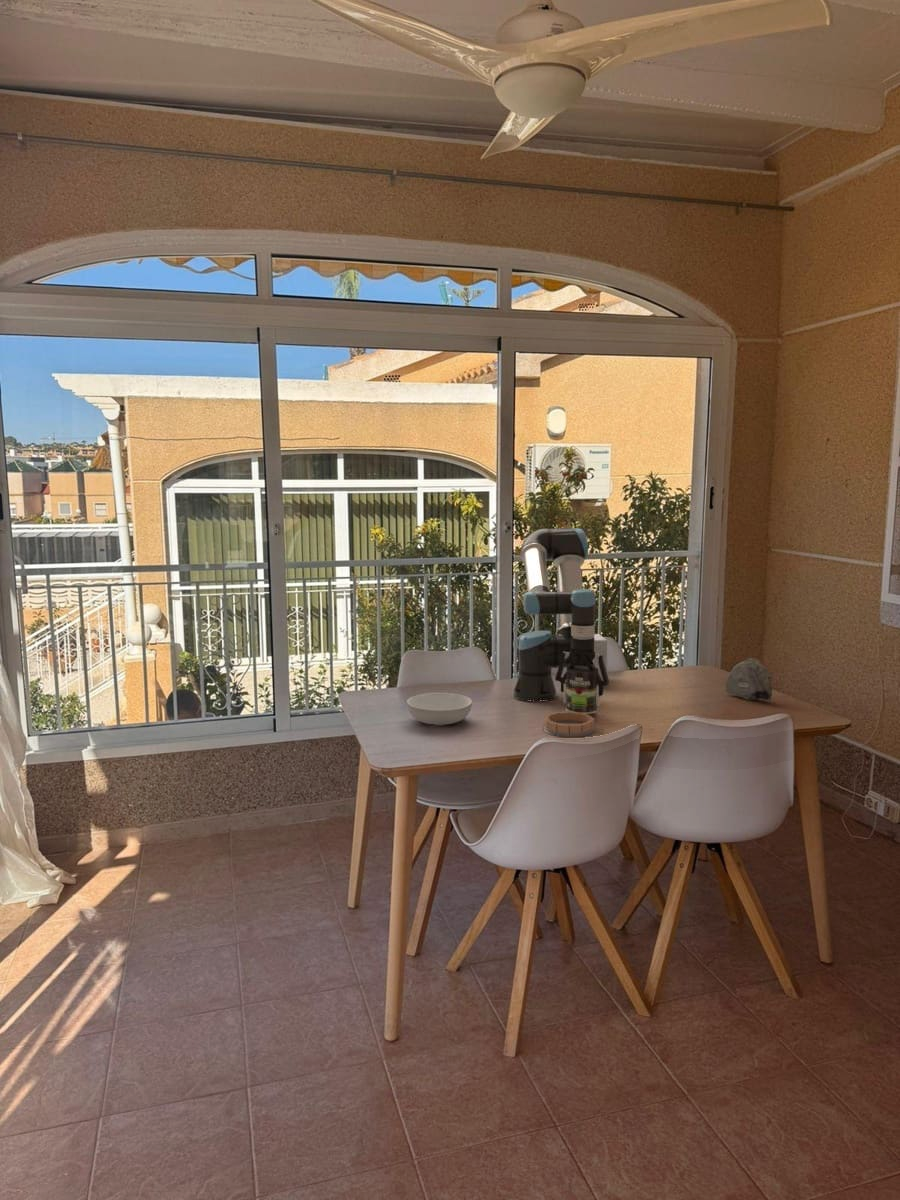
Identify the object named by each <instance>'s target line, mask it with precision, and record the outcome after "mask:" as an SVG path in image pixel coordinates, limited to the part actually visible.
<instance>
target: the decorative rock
mask: <svg viewBox="0 0 900 1200" xmlns="http://www.w3.org/2000/svg"><path fill="white" fill-rule="evenodd" d="M772 685H773V681H772V678H771V675H770V674H769V672H768V670H767V668H766V667H765V666H764V665H763V663H762V662H761V661H760V660H758V659H756V658H755V657H748V658H747V659H746V660H742V661H740V662H739V663H737V664H735V665H734V666H733V668H732V669H731V671H730V672H729V673H728V674H727V679H726V681H725V687H724V688H725V692H726V693H728V694H731V695H734V696H736V697H740V698H742V699H744V700H745V699H746V700H747V701H755V700H759V699H760V700H763V701H764V700H765V701H767V700H771V699H772V694H773V693H772V692H773V686H772Z"/></svg>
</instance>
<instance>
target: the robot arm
mask: <svg viewBox="0 0 900 1200" xmlns="http://www.w3.org/2000/svg"><path fill="white" fill-rule="evenodd" d="M588 547H589V545H588V538H587V535H586V532H585V531H584V530H583V529H582V528H574V527H568V528H567V527H566V528H565V527H564V528H547V527H546V528H539V529H536V530H534V531H533V532H531V533H530V534H529V535H528V536H527V537H525V539H524V541H523V542H522V544H521V547H520V557H521V561H522V562H523V563H524V568H525V569H524V570H525V575H526V576H525V578H526V584H527V592H524V594H523V612H524V613H525V614H526V615H537V616H539V615H559V621H560V625H559V626H560V627H559V628H558V629H557V630H556V634H553V632H552V631H551V630H534V631H528V632H524V633H523V634H521V635H520V637H519V639H518V647H517V649H518V676H517V679H516V682H515V685H514V688H513V697H514V696H515V697H517V698H519V699H523V700H531V701H530V702H532V701H533V700H534V701H540V700H542V701H540V702H544V701H543V700H549V701H551V699H552V700H555V699H556V698H557V689H556V687H555V683H554V679H555V681H558V682H559V683H560V692H561V693H563V704H566V682H567V671H566V670H565V673H564V674H563V671H564V669H566V668H567V667H569V669H573V668H574V667H575V665H583V666H588V668H589V669H590V671H595V670H596V668H595V666H594V663H593V661H592V660H593V659H594V658H596V659H597V661H598V662H599V667H600V671H601V674H602V678H603V681H602V679H601V677H600V675H599V673H598V674H596V682H597V683H598V685H597V686H596V706H597V707H599V706H600V705H601V697H602V696H603V695H604V686H607V685H608V684H609V683H610V679H609V675H608V671H606V668H605V664H604V655H603V654H601V655H599V654H595V652H594V644H595V639H594V636H595V634H596V633H595V631H596V629H595V626H596V623H595V616H596V615H595V614H596V602H597V601H596V592H595V591H594V590H593V589H588V588H583V585H582V584H583V583H582V568H581V567H582V566H583V565H584V564H585V560H587V559H588V556H589V548H588ZM547 560H552V565H553V566H554V567H556V568H557V586H558V588H557V589H558V591H551V585H550V580H549V574H548V568H547V562H546V561H547ZM552 669H557V671H556V674H555V678H554V679H553V676H552ZM562 674H563V676H562ZM515 697H514V698H515ZM555 697H556V698H555ZM554 698H555V699H554ZM519 699H518V700H519ZM523 700H522V701H523Z"/></svg>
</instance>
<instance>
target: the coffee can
mask: <svg viewBox="0 0 900 1200" xmlns="http://www.w3.org/2000/svg"><path fill="white" fill-rule="evenodd" d="M595 668H596V667H595ZM566 671H567V679H566V681H565V682H566V703H565V712H578V713H583V714H587V715H592V714H595V713H597V711H598V706H596V686H597V682H596V674H598V668H596V670H595V671H590V669H589V668H588V666H583V665H575V667H574V668H573V669H569V667H567V668H565V672H566Z"/></svg>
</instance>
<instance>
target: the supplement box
mask: <svg viewBox="0 0 900 1200" xmlns="http://www.w3.org/2000/svg"><path fill="white" fill-rule="evenodd" d="M594 639H595V644H594V652H595V654H599V655H601V654H603V655H604V664H605V668H606V671H607V670H608V666H607V665H608V639H606V638H605V637H603V636H602V635H601V634H600V633H595V636H594ZM592 661H593V663H594V666H595V667H596V668H598V673H599V675H600V677H601V679H602V681H603V678H602V674H601V671H600V667H599V662H598V661H597V659H596V658H594V659H593V660H592ZM607 672H608V671H607ZM597 685H598V683H597Z"/></svg>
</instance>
